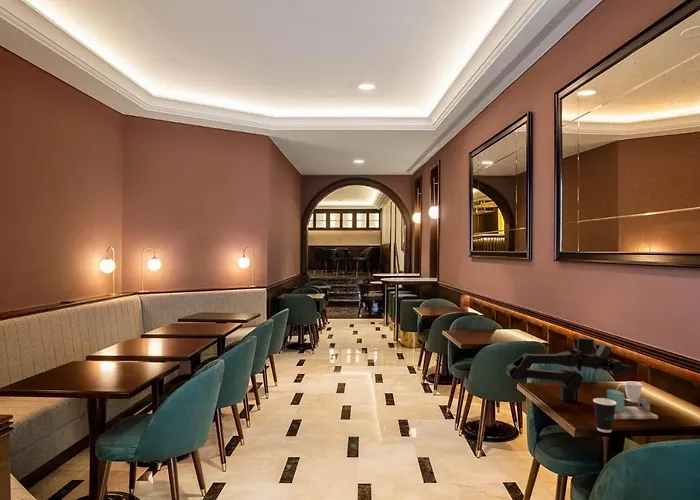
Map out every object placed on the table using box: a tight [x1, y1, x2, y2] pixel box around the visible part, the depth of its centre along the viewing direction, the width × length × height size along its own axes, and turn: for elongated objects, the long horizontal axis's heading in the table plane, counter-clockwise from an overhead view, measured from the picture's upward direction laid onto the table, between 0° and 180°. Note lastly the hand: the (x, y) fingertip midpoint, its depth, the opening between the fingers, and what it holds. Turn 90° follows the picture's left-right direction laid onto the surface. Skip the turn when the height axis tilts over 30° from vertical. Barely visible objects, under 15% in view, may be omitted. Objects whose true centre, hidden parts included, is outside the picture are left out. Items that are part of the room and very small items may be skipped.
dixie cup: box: [592, 397, 617, 433], centre depth 189 cm, size 8×8×11 cm
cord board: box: [600, 395, 659, 420], centre depth 209 cm, size 18×14×6 cm
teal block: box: [606, 389, 625, 412], centre depth 208 cm, size 4×6×7 cm
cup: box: [616, 380, 643, 403], centre depth 226 cm, size 7×10×8 cm
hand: (626, 365), depth 224 cm, fingers open, 9 cm apart
